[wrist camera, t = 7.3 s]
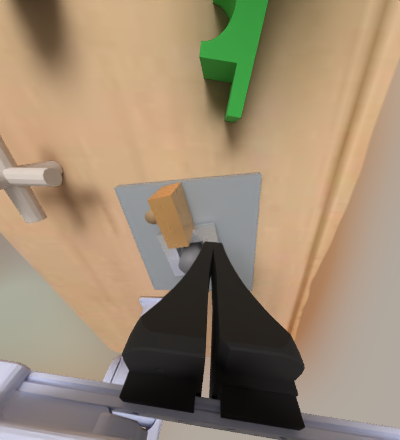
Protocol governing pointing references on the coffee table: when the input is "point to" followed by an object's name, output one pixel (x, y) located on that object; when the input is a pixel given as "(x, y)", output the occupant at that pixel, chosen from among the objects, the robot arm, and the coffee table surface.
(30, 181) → the pipe connector
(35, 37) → the coffee table surface
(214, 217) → the board
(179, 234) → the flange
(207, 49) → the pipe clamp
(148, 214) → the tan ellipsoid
